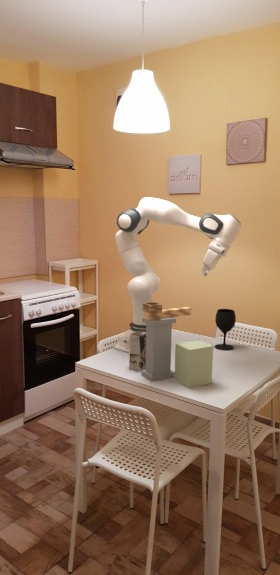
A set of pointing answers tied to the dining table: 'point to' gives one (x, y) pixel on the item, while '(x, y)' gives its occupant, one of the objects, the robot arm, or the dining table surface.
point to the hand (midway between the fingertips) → (202, 275)
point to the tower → (158, 348)
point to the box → (193, 363)
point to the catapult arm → (163, 311)
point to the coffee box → (137, 350)
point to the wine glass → (225, 325)
